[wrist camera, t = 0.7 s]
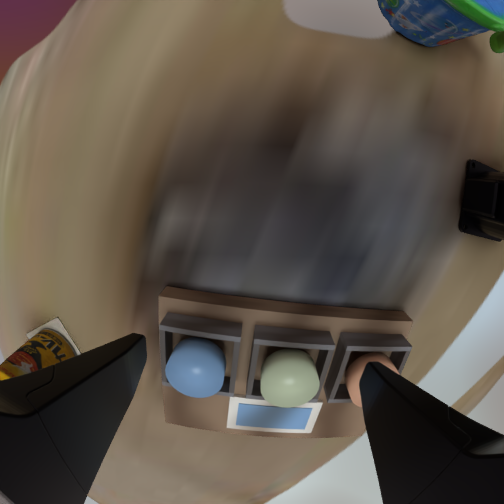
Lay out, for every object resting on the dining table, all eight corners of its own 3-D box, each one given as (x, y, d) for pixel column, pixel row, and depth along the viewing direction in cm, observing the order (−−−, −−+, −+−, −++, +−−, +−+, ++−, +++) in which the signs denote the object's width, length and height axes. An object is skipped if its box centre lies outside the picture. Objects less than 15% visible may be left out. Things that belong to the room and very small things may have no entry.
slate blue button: (228, 341, 19) (225, 358, 17) (224, 384, 20) (221, 401, 18) (172, 333, 19) (164, 348, 17) (173, 375, 20) (166, 392, 18)
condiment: (58, 316, 23) (-17, 380, 12) (103, 382, 25) (51, 461, 14) (27, 333, 24) (-36, 387, 13) (66, 391, 26) (19, 454, 15)
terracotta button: (398, 352, 19) (408, 366, 17) (381, 390, 20) (389, 405, 18) (352, 351, 19) (360, 367, 17) (338, 391, 20) (343, 408, 18)
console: (403, 311, 22) (424, 333, 18) (357, 422, 26) (366, 449, 22) (166, 286, 22) (149, 307, 18) (170, 409, 25) (160, 436, 22)
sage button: (320, 350, 19) (325, 366, 17) (308, 391, 20) (311, 408, 18) (264, 346, 19) (265, 362, 17) (257, 387, 20) (256, 405, 18)
